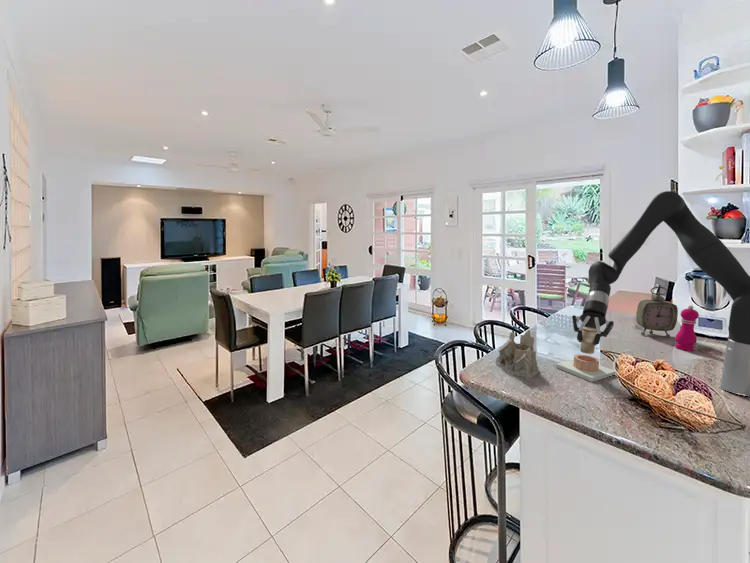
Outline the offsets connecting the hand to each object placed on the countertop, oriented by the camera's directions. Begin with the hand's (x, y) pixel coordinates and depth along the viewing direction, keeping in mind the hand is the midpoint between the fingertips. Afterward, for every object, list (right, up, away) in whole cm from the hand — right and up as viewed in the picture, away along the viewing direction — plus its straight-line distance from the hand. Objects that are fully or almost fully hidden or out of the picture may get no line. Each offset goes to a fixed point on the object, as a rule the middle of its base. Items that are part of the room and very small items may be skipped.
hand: (587, 342), depth 127 cm
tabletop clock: (+64, -5, +50) cm, 81 cm away
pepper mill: (+62, -8, +29) cm, 69 cm away
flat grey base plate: (+1, -11, +3) cm, 12 cm away
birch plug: (+1, -4, +2) cm, 4 cm away
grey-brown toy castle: (-24, -11, +6) cm, 27 cm away
